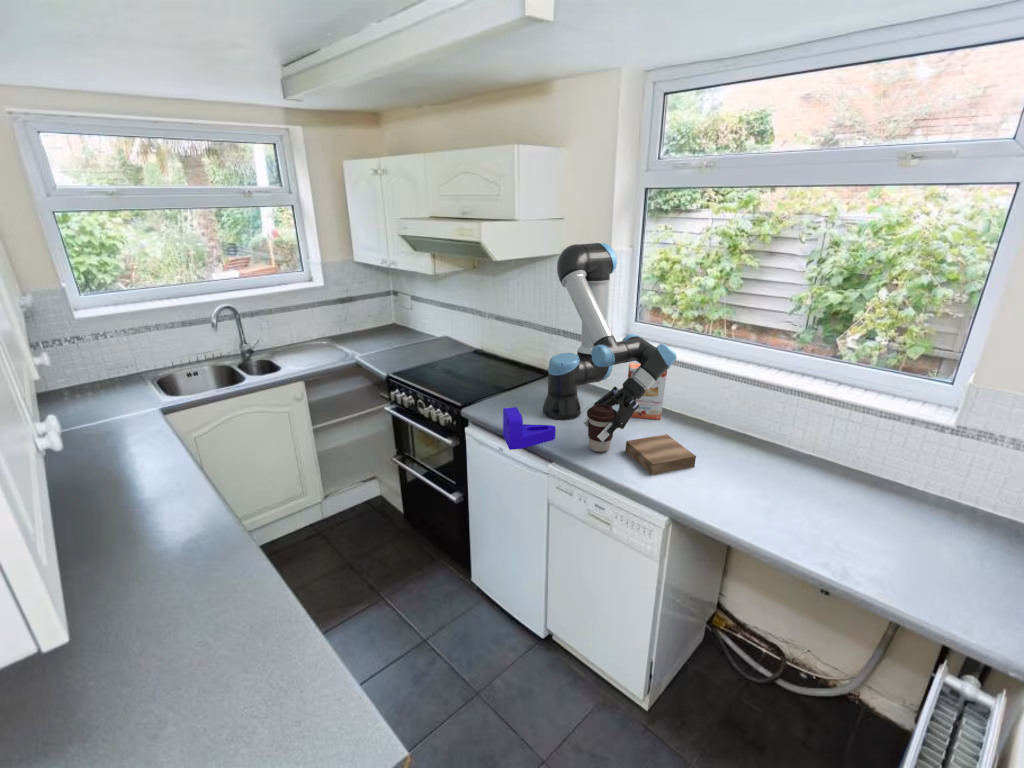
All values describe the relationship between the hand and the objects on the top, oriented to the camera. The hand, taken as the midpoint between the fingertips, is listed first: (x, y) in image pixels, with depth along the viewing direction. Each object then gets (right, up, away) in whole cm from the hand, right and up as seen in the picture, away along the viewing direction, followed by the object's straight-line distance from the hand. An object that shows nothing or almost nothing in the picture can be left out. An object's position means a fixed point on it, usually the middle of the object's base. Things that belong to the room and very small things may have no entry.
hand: (592, 432), depth 170 cm
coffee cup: (+3, -6, +3) cm, 7 cm away
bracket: (-20, -4, +10) cm, 23 cm away
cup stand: (+22, -9, -2) cm, 24 cm away
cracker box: (+24, +3, +29) cm, 38 cm away
